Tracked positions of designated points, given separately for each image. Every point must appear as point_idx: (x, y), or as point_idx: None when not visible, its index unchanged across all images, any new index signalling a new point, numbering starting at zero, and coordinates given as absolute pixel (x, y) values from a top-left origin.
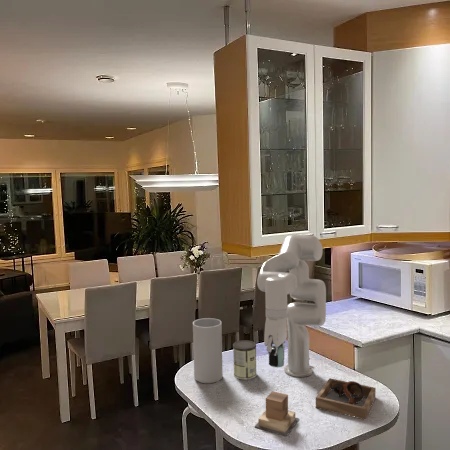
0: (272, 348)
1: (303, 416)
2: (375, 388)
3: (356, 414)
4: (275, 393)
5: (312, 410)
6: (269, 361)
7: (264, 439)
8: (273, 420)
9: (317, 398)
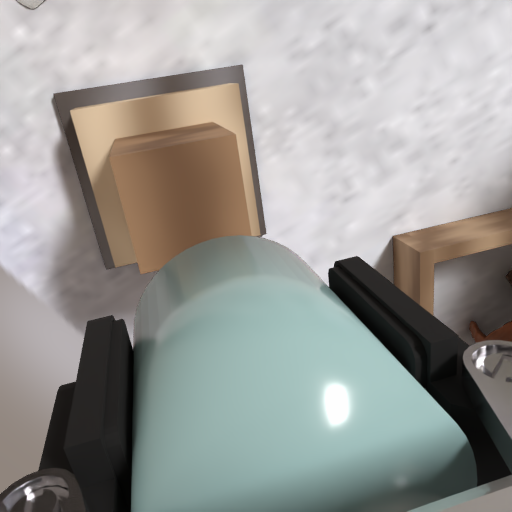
0: (231, 508)
1: (299, 233)
2: None
3: None
4: (218, 173)
5: (365, 237)
6: (87, 355)
7: (4, 202)
8: (115, 193)
9: (419, 259)
